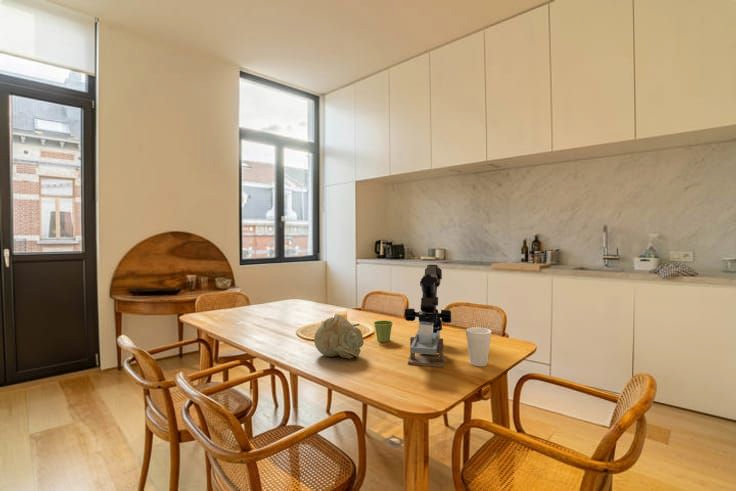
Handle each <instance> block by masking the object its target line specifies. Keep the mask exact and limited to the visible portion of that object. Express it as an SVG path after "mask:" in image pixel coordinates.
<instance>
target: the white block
mask: <svg viewBox="0 0 736 491" xmlns="http://www.w3.org/2000/svg"><path fill="white" fill-rule="evenodd" d="M418 330H419V343H424V344H432V342H433V322H420V323H419V322H418Z"/></svg>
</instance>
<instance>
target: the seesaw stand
mask: <svg viewBox="0 0 736 491" xmlns="http://www.w3.org/2000/svg"><path fill="white" fill-rule="evenodd" d="M414 338H415V336H410V339H409V340H410V342H409V344H410V346H409V348H410V347H411V345H412V342H413V340H414ZM407 365H409V366H410V365H411V366H425V367H427V366H428V367H438V368H439V367H440V368H445V365H446V357H444V338H441V337H440V338H439V353H438V356H429V355H426V356H425V355H424V356H423V355H416V353H410V354H409V358H408V360H407Z"/></svg>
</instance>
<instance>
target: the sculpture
mask: <svg viewBox="0 0 736 491" xmlns="http://www.w3.org/2000/svg"><path fill="white" fill-rule="evenodd" d="M313 340H314V345H315V349H316V350H317V351H318V353H320V354H322V355H323V356H325V357H332V358H333V357H336V356H340V357H341V358H346V359H349V360H352V359H354V357H357V358H358V357H360V356H359V355H360V353H361V352H362V351H361V350H362V349H361V348H362V347H363V346H364V343H365V342H364V341H365V340H364V337H363V334H362V331H361V329H359V328H358V327H355V325H353V324H352V323H351V322H350V321H349V320H348V319H347V318H345V317H344V316H343V315H341V314H337V313H335V314H334V316H331V317H329V318H326V320H324V321H323V323H322V324H321V325H320V326H319V327H318V328H317V329H316V331H315V333H314V339H313Z"/></svg>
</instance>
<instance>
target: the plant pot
mask: <svg viewBox="0 0 736 491" xmlns="http://www.w3.org/2000/svg"><path fill="white" fill-rule="evenodd" d="M373 325H374V328H375V333H376V334H375V335H376V340H377V342H379V343H385V342H390V341H391V333H392V328H393V325H394V322H393V321H392V320H376V321H373Z"/></svg>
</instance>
